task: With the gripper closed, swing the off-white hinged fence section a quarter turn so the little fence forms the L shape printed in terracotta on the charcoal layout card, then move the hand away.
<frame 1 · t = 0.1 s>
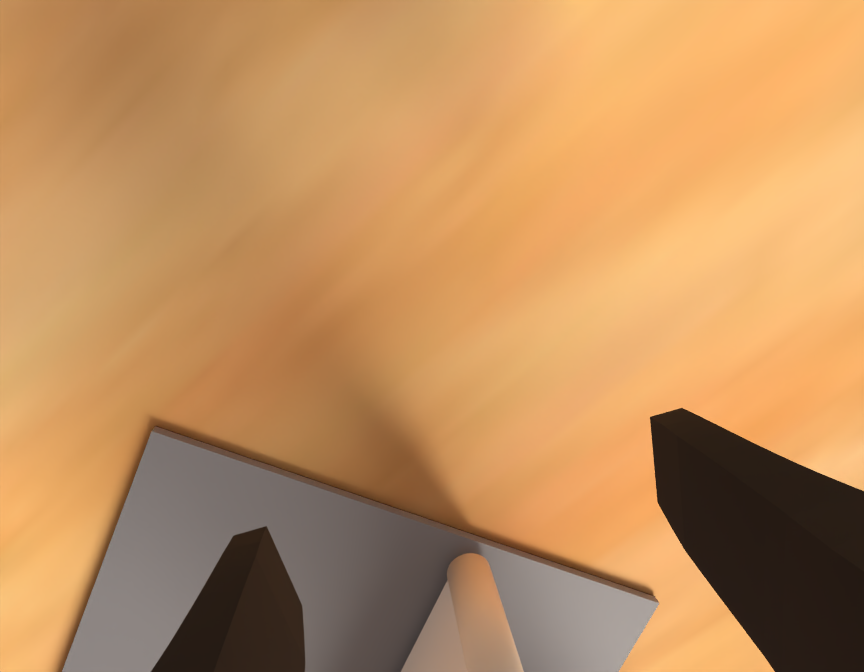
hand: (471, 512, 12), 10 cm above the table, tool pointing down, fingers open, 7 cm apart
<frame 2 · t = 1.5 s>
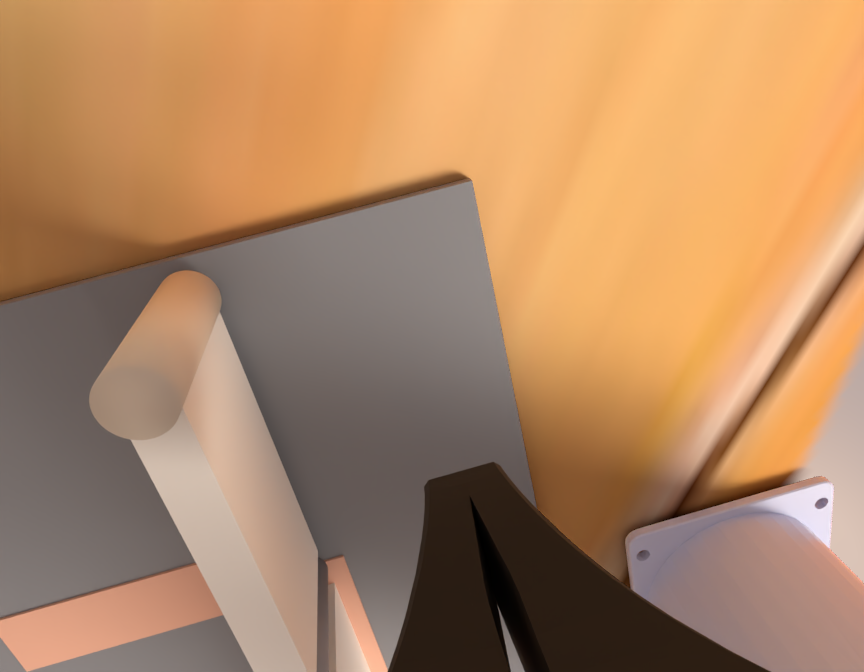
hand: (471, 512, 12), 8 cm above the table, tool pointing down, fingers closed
layout card: (307, 552, 22), on the table
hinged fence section: (244, 509, 17), point 4 cm above the table, hinge at 0.0°
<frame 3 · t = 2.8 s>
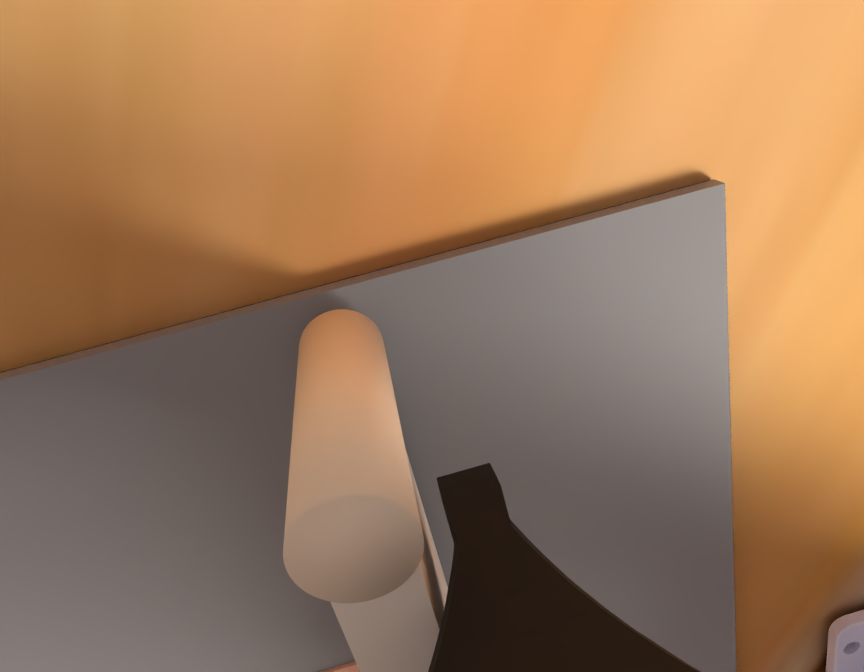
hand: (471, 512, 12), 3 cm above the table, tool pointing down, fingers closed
layout card: (446, 653, 17), on the table
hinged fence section: (421, 641, 12), point 4 cm above the table, hinge at 0.1°, touching gripper
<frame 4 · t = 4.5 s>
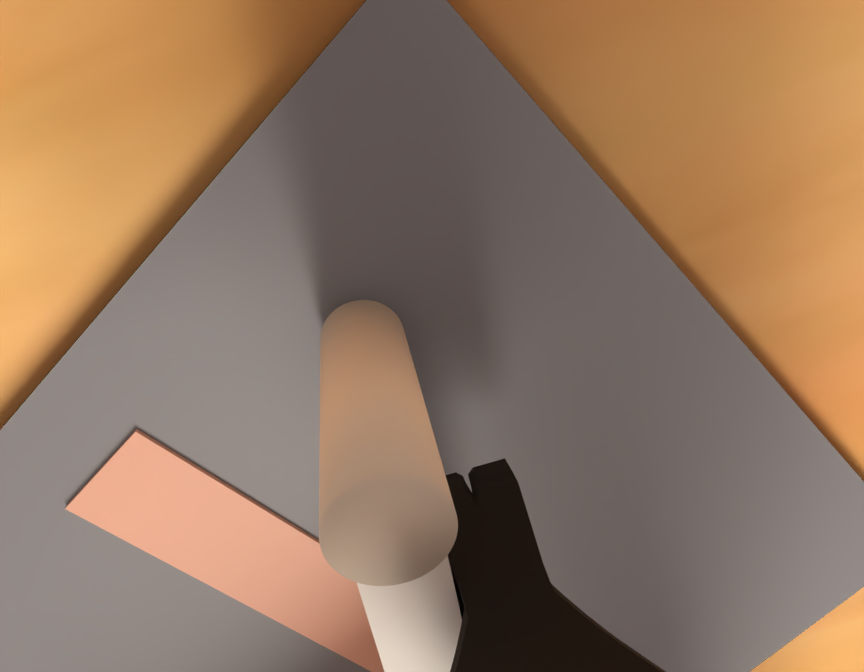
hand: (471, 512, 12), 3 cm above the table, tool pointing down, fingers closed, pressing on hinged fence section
layout card: (443, 651, 17), on the table
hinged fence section: (430, 634, 12), point 4 cm above the table, hinge at 55.0°, touching gripper
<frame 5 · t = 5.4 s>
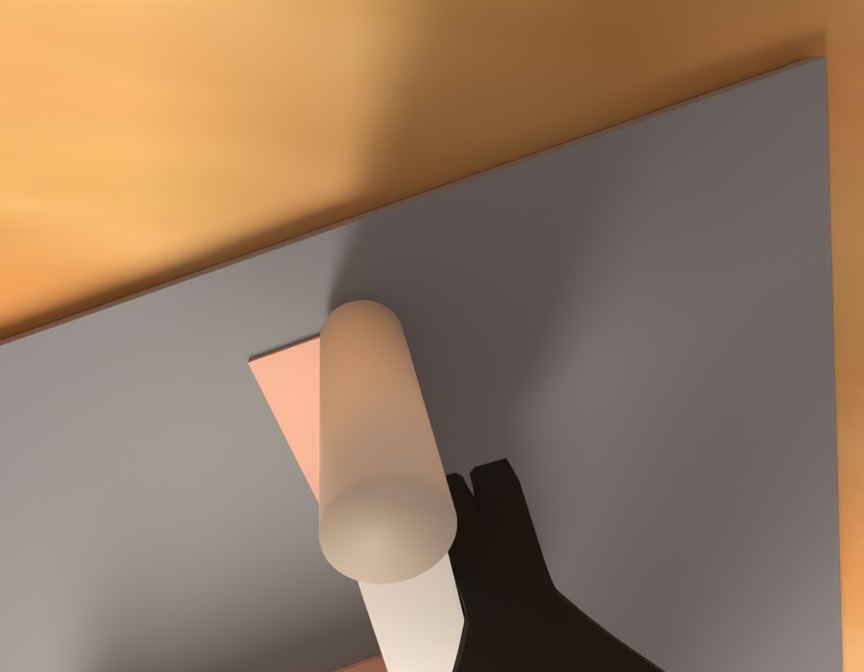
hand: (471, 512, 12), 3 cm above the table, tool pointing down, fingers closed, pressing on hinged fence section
layout card: (447, 650, 17), on the table
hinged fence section: (433, 632, 12), point 4 cm above the table, hinge at 83.9°, touching gripper
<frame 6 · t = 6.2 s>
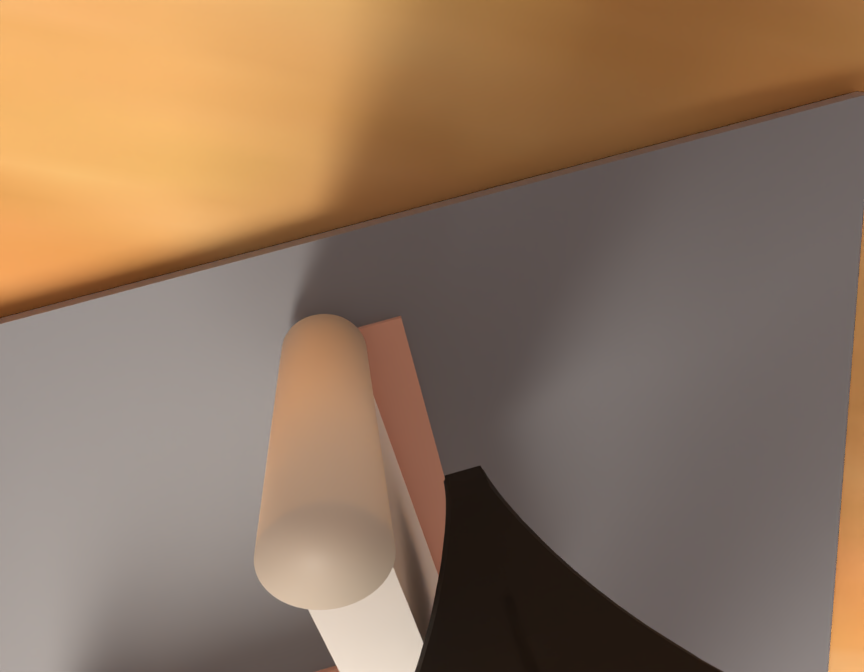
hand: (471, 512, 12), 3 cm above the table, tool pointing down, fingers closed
layout card: (446, 652, 17), on the table
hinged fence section: (412, 642, 12), point 4 cm above the table, hinge at 92.2°, touching gripper
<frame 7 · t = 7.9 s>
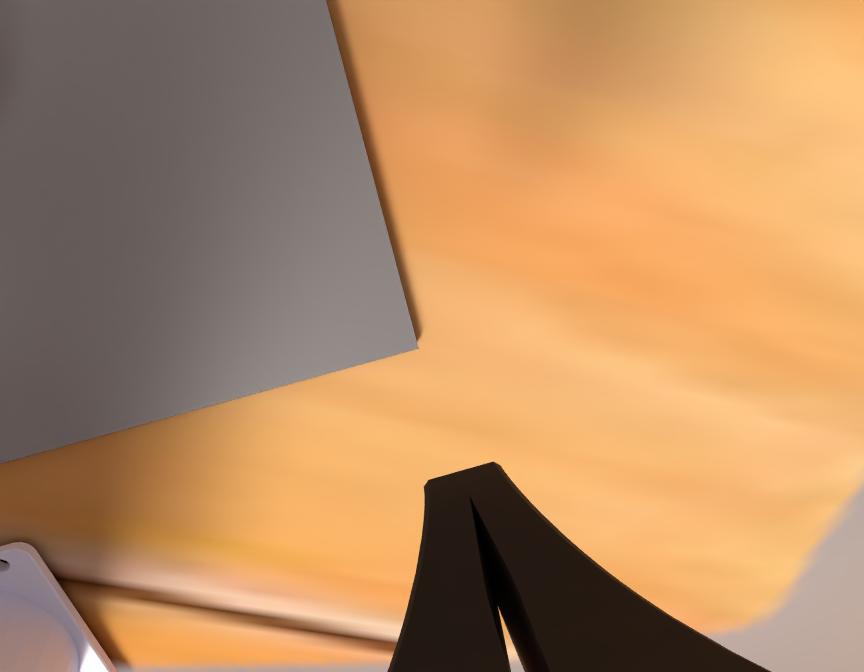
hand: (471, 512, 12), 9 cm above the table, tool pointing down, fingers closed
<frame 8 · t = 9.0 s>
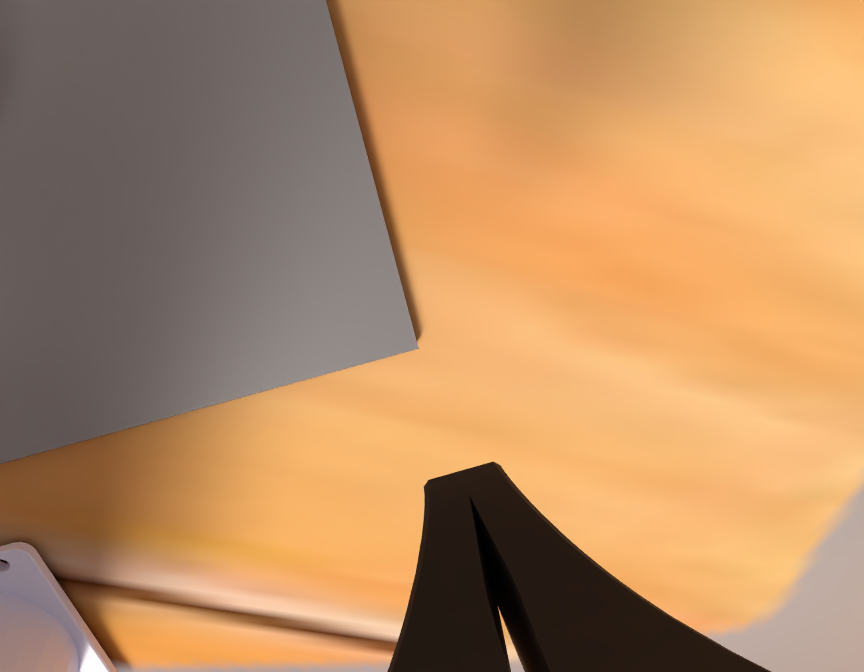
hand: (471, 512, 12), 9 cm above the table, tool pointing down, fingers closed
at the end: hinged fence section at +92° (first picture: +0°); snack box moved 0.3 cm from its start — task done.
